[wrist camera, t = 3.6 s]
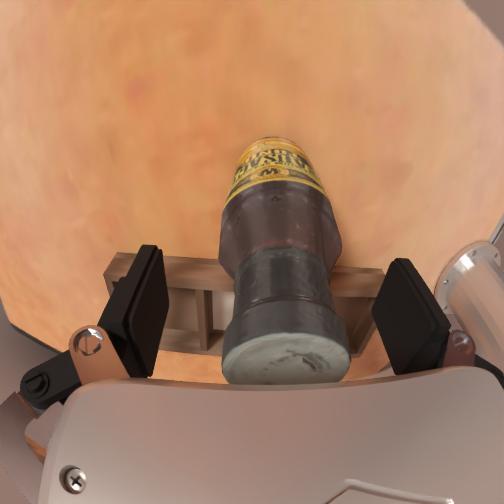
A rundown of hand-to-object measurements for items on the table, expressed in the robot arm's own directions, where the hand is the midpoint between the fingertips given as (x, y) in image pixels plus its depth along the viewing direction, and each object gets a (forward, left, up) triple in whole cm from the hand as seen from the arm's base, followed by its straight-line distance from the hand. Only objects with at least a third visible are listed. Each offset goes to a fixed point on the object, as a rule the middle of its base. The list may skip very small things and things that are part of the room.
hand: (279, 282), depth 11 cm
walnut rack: (0, +16, -16) cm, 23 cm away
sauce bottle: (-1, 0, -16) cm, 16 cm away
